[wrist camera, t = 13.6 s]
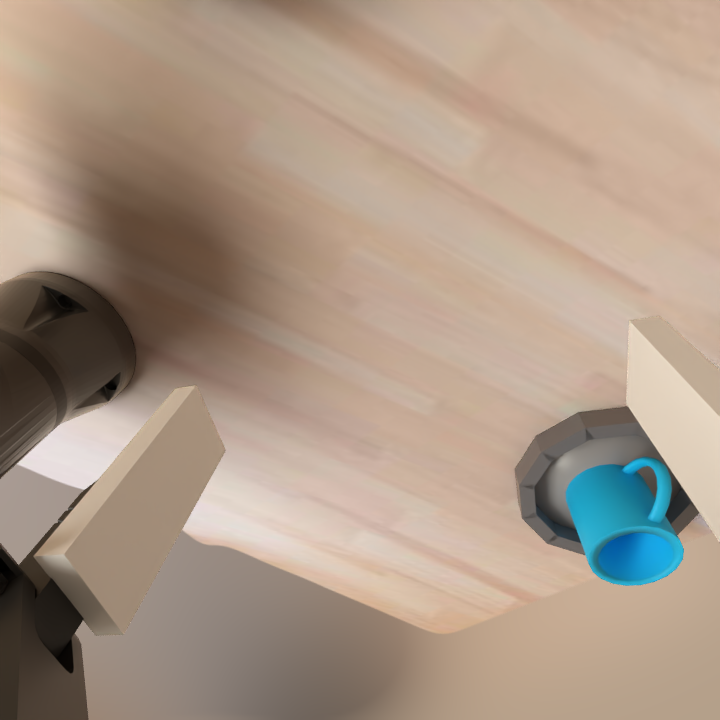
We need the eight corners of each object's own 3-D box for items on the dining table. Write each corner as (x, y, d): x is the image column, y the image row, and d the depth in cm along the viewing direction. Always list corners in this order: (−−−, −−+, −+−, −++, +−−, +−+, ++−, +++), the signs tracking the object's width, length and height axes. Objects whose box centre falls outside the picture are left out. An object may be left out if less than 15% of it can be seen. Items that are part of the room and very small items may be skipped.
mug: (621, 528, 53) (652, 594, 46) (552, 509, 53) (572, 572, 46) (683, 448, 47) (730, 510, 40) (606, 427, 47) (639, 485, 40)
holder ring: (522, 541, 57) (526, 559, 55) (509, 420, 49) (514, 435, 46) (688, 530, 53) (700, 549, 51) (705, 398, 45) (719, 413, 43)
